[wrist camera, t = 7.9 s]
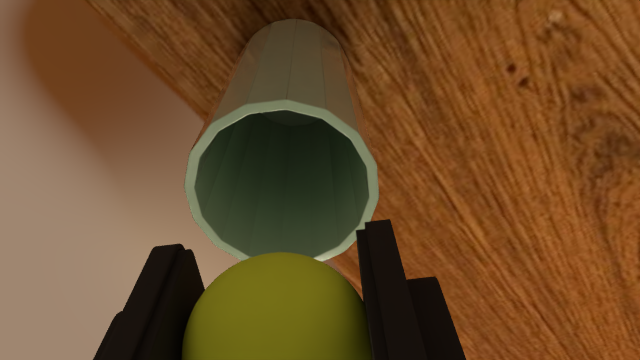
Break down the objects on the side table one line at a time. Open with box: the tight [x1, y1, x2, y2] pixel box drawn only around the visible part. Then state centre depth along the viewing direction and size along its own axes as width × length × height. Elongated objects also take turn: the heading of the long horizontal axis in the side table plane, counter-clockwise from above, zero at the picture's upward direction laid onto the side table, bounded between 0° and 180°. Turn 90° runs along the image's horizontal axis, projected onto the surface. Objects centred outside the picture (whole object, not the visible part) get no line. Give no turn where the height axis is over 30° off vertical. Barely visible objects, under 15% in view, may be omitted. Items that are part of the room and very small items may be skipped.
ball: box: [181, 252, 372, 360], centre depth 9 cm, size 4×4×4 cm
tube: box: [184, 19, 379, 262], centre depth 19 cm, size 6×6×12 cm
